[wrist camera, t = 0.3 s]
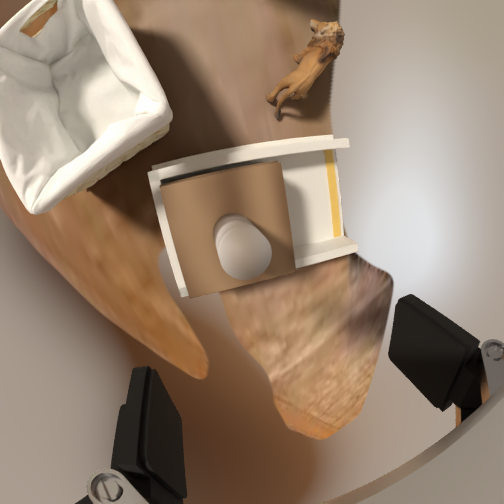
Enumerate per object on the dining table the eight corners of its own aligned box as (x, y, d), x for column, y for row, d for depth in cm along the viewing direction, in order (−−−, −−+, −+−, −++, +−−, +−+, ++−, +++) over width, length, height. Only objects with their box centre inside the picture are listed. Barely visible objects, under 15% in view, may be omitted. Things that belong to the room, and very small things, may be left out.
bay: (183, 284, 38) (182, 301, 33) (152, 165, 32) (146, 166, 27) (341, 245, 41) (358, 255, 36) (329, 135, 35) (347, 132, 30)
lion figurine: (295, 33, 29) (321, 7, 21) (326, 50, 31) (358, 29, 22) (258, 111, 32) (279, 96, 24) (293, 128, 34) (323, 119, 26)
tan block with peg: (188, 271, 36) (189, 338, 22) (166, 181, 31) (145, 194, 18) (276, 250, 37) (324, 302, 24) (262, 160, 33) (311, 160, 19)
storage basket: (28, 76, 22) (-27, 54, 8) (116, 12, 22) (90, -42, 9) (84, 201, 31) (28, 226, 17) (184, 134, 31) (178, 114, 18)
